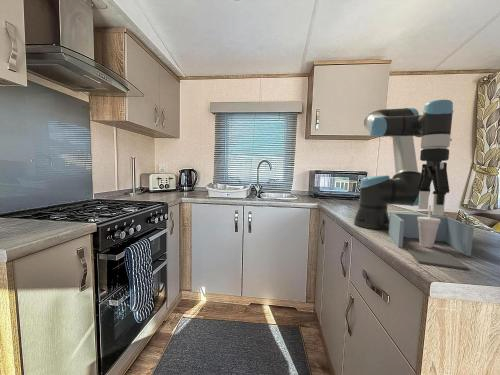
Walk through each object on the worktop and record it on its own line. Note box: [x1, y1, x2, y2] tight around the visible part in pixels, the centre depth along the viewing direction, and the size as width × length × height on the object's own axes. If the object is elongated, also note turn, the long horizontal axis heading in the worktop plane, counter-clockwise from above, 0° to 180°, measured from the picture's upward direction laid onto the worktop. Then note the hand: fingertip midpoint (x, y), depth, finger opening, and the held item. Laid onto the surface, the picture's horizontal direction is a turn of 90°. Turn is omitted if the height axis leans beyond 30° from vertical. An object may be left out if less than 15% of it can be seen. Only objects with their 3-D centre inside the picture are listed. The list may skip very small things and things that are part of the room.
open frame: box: [388, 212, 475, 257], centre depth 82 cm, size 17×19×9 cm
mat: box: [407, 248, 469, 271], centre depth 68 cm, size 11×11×1 cm
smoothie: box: [417, 204, 441, 249], centre depth 80 cm, size 6×6×14 cm
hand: (429, 212), depth 79 cm, fingers open, 13 cm apart
